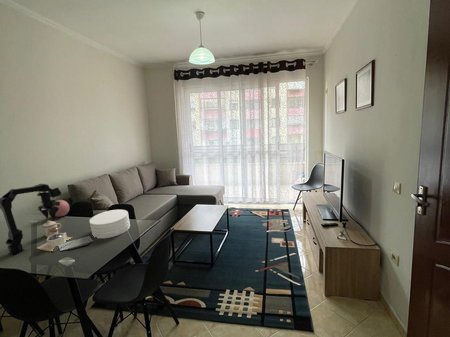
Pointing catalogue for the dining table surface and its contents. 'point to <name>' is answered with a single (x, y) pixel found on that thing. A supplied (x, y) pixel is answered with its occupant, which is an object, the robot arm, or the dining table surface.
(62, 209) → the balloon
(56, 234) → the plunger
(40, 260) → the dining table surface
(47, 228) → the teacup with lid
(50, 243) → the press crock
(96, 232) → the plate stack
